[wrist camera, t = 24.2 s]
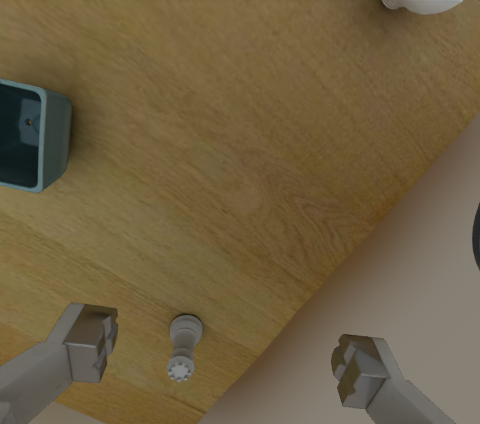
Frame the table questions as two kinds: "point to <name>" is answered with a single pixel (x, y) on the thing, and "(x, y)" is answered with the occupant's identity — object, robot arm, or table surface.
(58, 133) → the flower pot
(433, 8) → the light bulb
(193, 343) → the rook chess piece
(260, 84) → the table surface
